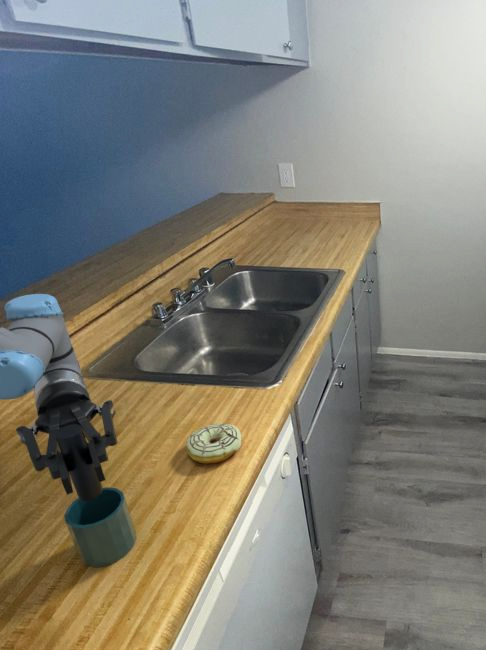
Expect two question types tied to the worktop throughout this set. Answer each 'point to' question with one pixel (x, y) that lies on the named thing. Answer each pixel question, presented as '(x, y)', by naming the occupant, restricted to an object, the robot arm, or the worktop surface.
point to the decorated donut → (213, 443)
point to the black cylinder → (79, 461)
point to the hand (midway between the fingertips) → (83, 479)
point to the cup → (101, 528)
